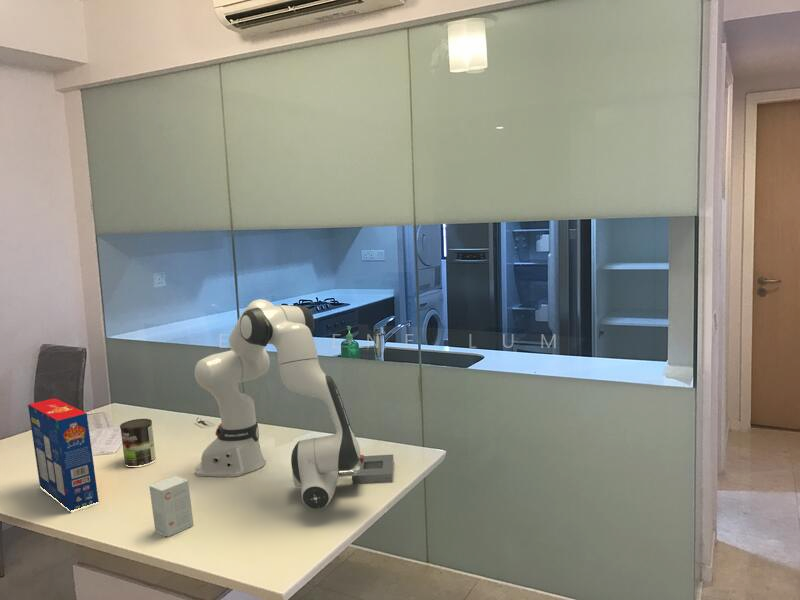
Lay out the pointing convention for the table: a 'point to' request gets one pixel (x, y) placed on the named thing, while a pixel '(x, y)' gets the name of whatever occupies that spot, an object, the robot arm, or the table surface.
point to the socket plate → (374, 469)
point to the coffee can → (138, 442)
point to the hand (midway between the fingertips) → (329, 456)
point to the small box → (171, 505)
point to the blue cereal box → (63, 452)
